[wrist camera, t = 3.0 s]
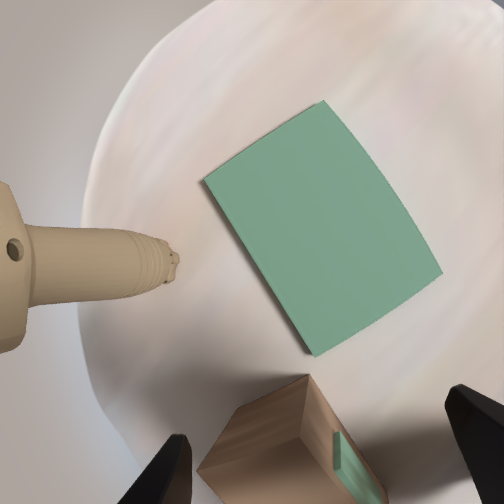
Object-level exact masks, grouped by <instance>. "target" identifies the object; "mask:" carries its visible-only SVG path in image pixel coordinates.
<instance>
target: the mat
mask: <svg viewBox="0 0 504 504" xmlns="http://www.w3.org/2000/svg"><path fill="white" fill-rule="evenodd" d="M204 180H205V182H206V184H207V185H208V187H209V189H210V190H211V192H212V193H213V195H214V197H215V198H216V200H217V201H218V203H219V205H220V206H221V208H222V210H223V211H224V213H225V214H226V216H227V218H228V219H229V221H230V222H231V224H232V226H233V227H234V229H235V230H236V232H237V234H238V235H239V237H240V239H241V240H242V242H243V243H244V245H245V247H246V248H247V250H248V251H249V253H250V255H251V256H252V258H253V259H254V261H255V263H256V264H257V266H258V268H259V269H260V271H261V272H262V274H263V276H264V277H265V279H266V280H267V282H268V284H269V285H270V287H271V288H272V290H273V292H274V293H275V295H276V296H277V298H278V300H279V301H280V303H281V305H282V306H283V308H284V309H285V311H286V313H287V314H288V316H289V317H290V319H291V321H292V322H293V324H294V325H295V327H296V329H297V330H298V332H299V333H300V335H301V337H302V338H303V340H304V341H305V343H306V345H307V346H308V348H309V349H310V351H311V353H312V354H313V356H314V357H317V356H319V355H321V354H323V353H324V352H326V351H328V350H330V349H331V348H333V347H335V346H336V345H338V344H340V343H341V342H343V341H345V340H346V339H348V338H350V337H351V336H353V335H355V334H356V333H358V332H359V331H361V330H363V329H364V328H366V327H367V326H369V325H371V324H372V323H374V322H375V321H377V320H378V319H380V318H381V317H383V316H384V315H386V314H387V313H389V312H390V311H392V310H393V309H395V308H396V307H398V306H399V305H401V304H402V303H403V302H405V301H406V300H408V299H409V298H411V297H412V296H413V295H415V294H416V293H418V292H419V291H420V290H422V289H423V288H424V287H426V286H427V285H428V284H430V283H431V282H432V281H434V280H435V279H436V278H438V277H439V276H440V275H442V274H443V272H442V270H441V268H440V266H439V265H438V263H437V261H436V259H435V257H434V255H433V254H432V252H431V250H430V248H429V246H428V245H427V243H426V241H425V240H424V238H423V236H422V234H421V233H420V231H419V229H418V228H417V226H416V224H415V223H414V221H413V219H412V218H411V216H410V215H409V213H408V211H407V210H406V208H405V207H404V205H403V204H402V202H401V201H400V199H399V198H398V196H397V195H396V193H395V192H394V190H393V189H392V187H391V186H390V184H389V183H388V181H387V180H386V178H385V177H384V176H383V174H382V173H381V171H380V170H379V169H378V167H377V166H376V164H375V163H374V162H373V160H372V159H371V158H370V156H369V155H368V154H367V152H366V151H365V150H364V148H363V147H362V146H361V144H360V143H359V142H358V141H357V139H356V138H355V137H354V135H353V134H352V133H351V132H350V130H349V129H348V128H347V127H346V126H345V124H344V123H343V122H342V121H341V120H340V118H339V117H338V116H337V115H336V114H335V112H334V111H333V110H332V109H331V108H330V107H329V105H328V104H327V103H326V102H325V101H324V100H323V101H321V102H319V103H318V104H316V105H314V106H313V107H311V108H309V109H308V110H306V111H304V112H303V113H301V114H300V115H298V116H296V117H295V118H293V119H291V120H290V121H288V122H287V123H285V124H284V125H282V126H280V127H279V128H277V129H276V130H274V131H273V132H271V133H270V134H268V135H266V136H265V137H263V138H262V139H260V140H259V141H257V142H256V143H254V144H253V145H251V146H250V147H248V148H247V149H246V150H244V151H243V152H241V153H240V154H238V155H237V156H235V157H234V158H232V159H231V160H230V161H228V162H227V163H225V164H224V165H223V166H221V167H220V168H218V169H217V170H216V171H214V172H213V173H211V174H210V175H209V176H207V177H206V178H204Z"/></svg>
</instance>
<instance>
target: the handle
mask: <svg viewBox="0 0 504 504" xmlns="http://www.w3.org/2000/svg"><path fill="white" fill-rule="evenodd" d="M179 261H180V259H179V255H178V253H175V252H173V251H172V250H171V249H170V247H169V246H168V243H167V242H166V241H164V240H161V239H158V238H153V237H150V236H147V235H144V234H141V233H137V232H133V231H126V230H119V229H97V228H61V227H40V226H32V225H27V224H24V222H23V219H22V217H21V214H20V211H19V209H18V206H17V203H16V201H15V199H14V196H13V194H12V192H11V189H10V187H9V185H7V184H5V183H3V182H0V353H4V352H8V351H11V350H13V349H15V348H16V347H18V346H19V345H20V344H21V342H22V340H23V338H24V335H25V333H26V324H27V313H28V308H30V307H34V306H37V305H46V304H57V303H69V302H82V301H98V300H112V299H120V298H126V297H132V296H136V295H139V294H142V293H145V292H148V291H150V290H153V289H155V288H156V287H158V286H160V285H161V284H167V283H170V282H172V281H173V280H174V279H175V269H176V266H177V264H178V263H179Z"/></svg>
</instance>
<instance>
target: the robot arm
mask: <svg viewBox="0 0 504 504" xmlns="http://www.w3.org/2000/svg"><path fill="white" fill-rule="evenodd" d="M445 410H446V412H447V415H448V418H449V421H450V424H451V427H452V430H453V433H454V436H455V439H456V441H457V444H458V446H459V448H460V450H461V453H462V455H463V457H464V460H465V462H466V464H467V467H468V469H469V471H470V474H471V476H472V479H473V481H474V483H475V486H476V489H477V491H478V494H479V496H480V499H481V502H482V504H504V405H502V404H500V403H498V402H496V401H494V400H492V399H490V398H488V397H486V396H484V395H482V394H480V393H479V392H477V391H475V390H473V389H471V388H469V387H467V386H465V385H463V384H458V385H456V386H453V387H452V388H451V389H450V391H449V394H448V396H447V398H446V401H445ZM191 498H192V449H191V446H190V444H189V442H188V439H187V437H186V435H184V434H172V435H171V436H170V437H169V439H168V440H167V441H166V442H165V444H164V445H163V446H162V448H161V449H160V450H159V452H158V453H157V454H156V455H155V457H154V458H153V459H152V461H151V462H150V463H149V464H148V466H147V467H146V468H145V470H144V471H143V472H142V474H141V475H140V476H139V477H138V478H137V480H136V481H135V482H134V483H133V485H132V486H131V487H130V488H129V490H128V491H127V492H126V493H125V495H124V496H123V497H122V498H121V500H120V501H119V502H118V503H117V504H191Z"/></svg>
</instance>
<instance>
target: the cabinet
mask: <svg viewBox="0 0 504 504" xmlns="http://www.w3.org/2000/svg"><path fill="white" fill-rule="evenodd" d="M196 472H197V473H198V474H199V475H200V476H201V478H202V479H203V480H204V481H205V482H206V483H207V485H208V486H209V487H210V488H211V489H212V490H213V491H214V492H215V493H216V495H217V496H218V497H219V498H220V499H221V500H222V501H223V502H224V503H225V504H389V502H388V496H387V492H386V490H385V489H384V487H383V486H382V484H381V483H380V481H379V480H378V478H377V477H376V475H375V474H374V472H373V471H372V469H371V468H370V466H369V465H368V463H367V462H366V460H365V459H364V457H363V456H362V454H361V453H360V451H359V450H358V448H357V447H356V445H355V444H354V442H353V441H352V439H351V437H350V436H349V434H348V433H347V431H346V430H345V428H344V427H343V425H342V424H341V422H340V421H339V419H338V417H337V416H336V414H335V413H334V411H333V410H332V408H331V407H330V405H329V404H328V402H327V400H326V399H325V397H324V396H323V394H322V393H321V391H320V389H319V388H318V386H317V385H316V383H315V382H314V380H313V379H312V377H311V375H310V374H308V375H306V376H305V377H303V378H301V379H299V380H297V381H295V382H293V383H291V384H289V385H287V386H285V387H283V388H281V389H279V390H277V391H275V392H273V393H271V394H268V395H266V396H264V397H262V398H260V399H258V400H255V401H253V402H251V403H249V404H247V405H244V406H242V407H240V408H237V410H236V411H235V413H234V415H233V416H232V418H231V419H230V421H229V422H228V424H227V425H226V427H225V429H224V430H223V432H222V433H221V435H220V436H219V438H218V439H217V441H216V442H215V444H214V445H213V447H212V448H211V450H210V451H209V453H208V454H207V456H206V457H205V459H204V460H203V462H202V463H201V465H200V466H199V467H198V469H197V470H196Z"/></svg>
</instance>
